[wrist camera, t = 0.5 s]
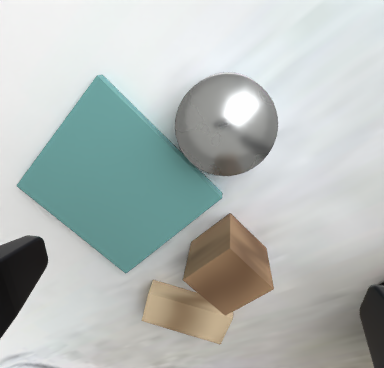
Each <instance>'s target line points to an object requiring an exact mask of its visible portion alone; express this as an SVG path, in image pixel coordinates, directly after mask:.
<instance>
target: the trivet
mask: <svg viewBox="0 0 384 368" xmlns="http://www.w3.org/2000/svg"><path fill="white" fill-rule="evenodd" d="M17 187H18V188H20V189H21V190H22V191H23V192H25V193H26V194H27V195H28V196H30V197H31V198H32V199H33V200H35V201H36V202H37V203H38V204H40V205H41V206H42V207H43V208H45V209H46V210H47V211H48V212H50V213H51V214H52V215H53V216H55V217H56V218H57V219H58V220H60V221H61V222H62V223H63V224H65V225H66V226H67V227H68V228H70V229H71V230H72V231H73V232H75V233H76V234H77V235H78V236H80V237H81V238H82V239H83V240H85V241H86V242H87V243H88V244H90V245H91V246H92V247H93V248H95V249H96V250H97V251H98V252H100V253H101V254H102V255H103V256H105V257H106V258H107V259H108V260H110V261H111V262H112V263H113V264H115V265H116V266H117V267H118V268H120V269H121V270H122V271H123V272H125V273H127V272H129V271H130V270H131V269H132V268H134V267H135V266H136V265H137V264H139V263H140V262H141V261H143V260H144V259H145V258H146V257H148V256H149V255H150V254H151V253H153V252H154V251H155V250H157V249H158V248H159V247H160V246H162V245H163V244H164V243H165V242H167V241H168V240H169V239H171V238H172V237H173V236H174V235H176V234H177V233H178V232H179V231H181V230H182V229H183V228H185V227H186V226H187V225H188V224H190V223H191V222H192V221H193V220H195V219H196V218H197V217H199V216H200V215H201V214H202V213H204V212H205V211H206V210H207V209H209V208H210V207H211V206H213V205H214V204H215V203H216V202H218V201H219V200H220V199H221V198H222V192H221V191H220V190H219V189H218V188H217V187H216V186H215V185H214V184H213V183H212V182H211V181H210V180H209V179H208V178H206V177H205V176H204V175H203V174H202V173H201V172H200V171H199V170H198V169H197V168H196V167H195V166H194V165H193V164H192V163H191V162H190V161H189V160H188V159H187V158H186V157H185V156H184V155H183V154H182V153H181V152H180V151H179V150H178V149H177V148H176V147H175V146H174V145H173V144H172V143H171V142H170V141H169V140H168V139H167V138H166V137H165V136H164V135H163V134H162V133H161V132H160V131H159V130H158V129H157V128H156V127H155V126H154V125H153V124H152V123H151V122H150V121H149V120H148V119H147V118H146V117H145V116H144V115H143V114H142V113H141V112H140V111H139V110H138V109H137V108H136V107H135V106H134V105H133V104H132V103H131V102H130V101H129V100H128V99H126V98H125V97H124V96H123V95H122V94H121V93H120V92H119V91H118V90H117V89H116V88H115V87H114V86H113V85H112V84H111V83H110V82H109V81H108V80H107V79H106V78H105V77H104V76H103V75H97V76H96V78H95V79H94V80H93V82H92V83H91V85H90V86H89V87H88V89H87V90H86V91H85V93H84V94H83V96H82V97H81V98H80V100H79V101H78V102H77V104H76V105H75V106H74V108H73V109H72V111H71V112H70V113H69V115H68V116H67V117H66V119H65V120H64V121H63V123H62V124H61V126H60V127H59V128H58V130H57V131H56V132H55V134H54V135H53V137H52V138H51V139H50V141H49V142H48V143H47V145H46V146H45V147H44V149H43V150H42V152H41V153H40V154H39V156H38V157H37V158H36V160H35V161H34V162H33V164H32V165H31V167H30V168H29V169H28V171H27V172H26V173H25V175H24V176H23V178H22V179H21V180H20V182H19V183H18V184H17Z"/></svg>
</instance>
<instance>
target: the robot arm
mask: <svg viewBox="0 0 384 368" xmlns="http://www.w3.org/2000/svg"><path fill="white" fill-rule="evenodd" d="M47 264H48V256H47V252H46V248H45V243H44V240H43V239H42V238H41V237H37V236H24V237H22V238H19V239H16V240H14V241H11V242H8V243H6V244H3V245H0V338H1V337H2V336H3V334H4V333H5V332H6V330H7V329H8V327H9V326H10V325H11V323H12V322H13V320H14V319H15V318H16V316H17V315H18V313H19V311H20V310H21V308H22V307H23V305H24V303H25V302H26V300H27V298H28V297H29V295H30V294H31V292H32V290H33V289H34V287H35V285H36V284H37V282H38V280H39V279H40V277H41V275H42V274H43V272H44V270H45V269H46V267H47ZM360 318H361V321H362V325H363V329H364V332H365V336H366V340H367V343H368V347H369V350H370V354H371V358H372V361H373V365H374V368H384V283H382V284H381V285H371V286H370V287H369V288H368V291H367V293H366V295H365V297H364V300H363V302H362V304H361V307H360Z"/></svg>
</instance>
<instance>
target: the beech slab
mask: <svg viewBox="0 0 384 368" xmlns="http://www.w3.org/2000/svg"><path fill="white" fill-rule="evenodd" d="M232 319H233V312H231V313H230V314H228V315H226V316H225V315H224V314H222V313H221V312H220V311H219V310H218V309H216V308H215V307H214V306H213V305H212V304H211V303H209V302H208V301H207V300H206V299H205V298H203V297H202V296H201V295H200V294H199V293H196V292H193V291H189V290H186V289H183V288H179V287H176V286H172V285H169V284H166V283H162V282H159V281H155V280H153V282H152V285H151V287H150V290H149V293H148V297H147V301H146V305H145V309H144V313H143V317H142V321H144V322H147V323H151V324H154V325H157V326H161V327H164V328H167V329H171V330H174V331H177V332H181V333H184V334H187V335H191V336H194V337H197V338H201V339H204V340H207V341H211V342H214V343H217V344H221V342H222V340H223V338H224V336H225V334H226V332H227V330H228V328H229V326H230V324H231V321H232Z"/></svg>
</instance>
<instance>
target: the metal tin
mask: <svg viewBox="0 0 384 368" xmlns="http://www.w3.org/2000/svg"><path fill="white" fill-rule="evenodd" d="M277 131H278V117H277V112H276V109H275V106H274V103H273V101H272V99H271V98H270V96H269V95H268V93H267V92H266V91H265V90H264V89H263V88H262V87H261V86H260V85H259V84H258V83H256V82H255V81H254V80H252V79H251V78H249V77H247V76H245V75H242V74H239V73H234V72H223V73H218V74H214V75H212V76H209V77H207V78H206V79H204V80H202V81H201V82H199V83H198V84H196V85H195V86H194V87H193V88H192V89H191V90H189V92H188V93H187V94H186V95H185V97H184V98H183V100H182V101H181V103H180V106H179V108H178V111H177V114H176V120H175V132H176V138H177V141H178V144H179V147H180V149H181V151H182V152H183V154H184V155H185V157H186V158H187V159H188V160H189V161H190V162H191V163H192V164H193V165H194V166H196V167H197V168H199V169H201V170H203V171H205V172H207V173H210V174H214V175H219V176H231V175H237V174H241V173H244V172H246V171H248V170H250V169H252V168H254V167H255V166H257V165H258V164H259V163H260V162H261V161H263V160H264V158H265V157H266V156H267V155H268V153H269V152H270V150H271V149H272V147H273V145H274V142H275V139H276V136H277Z"/></svg>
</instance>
